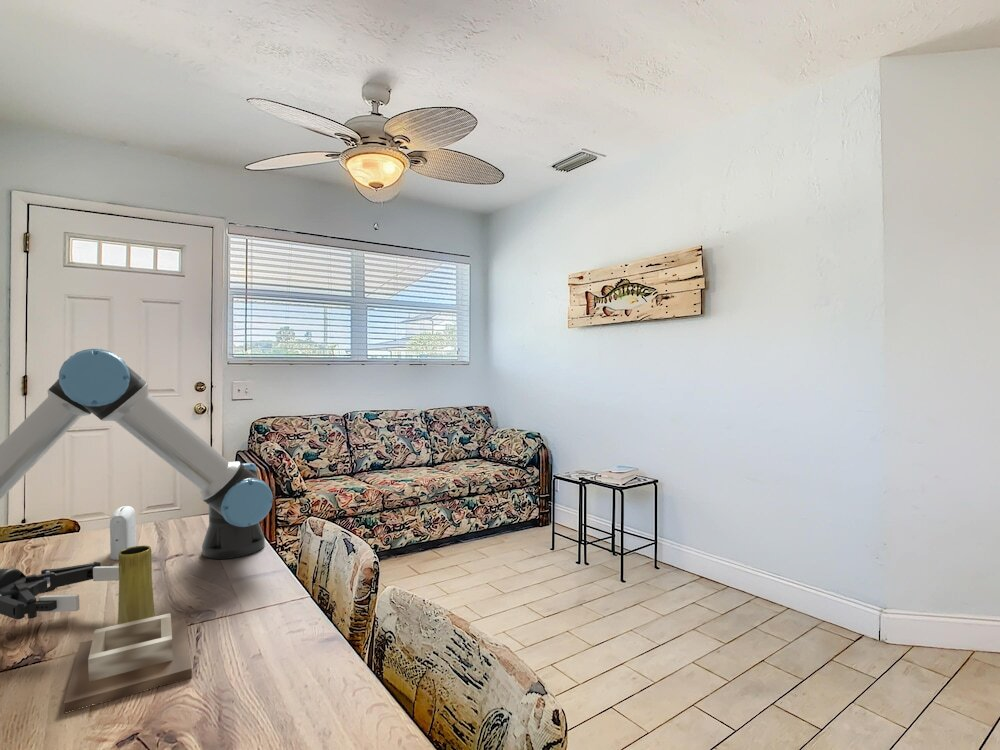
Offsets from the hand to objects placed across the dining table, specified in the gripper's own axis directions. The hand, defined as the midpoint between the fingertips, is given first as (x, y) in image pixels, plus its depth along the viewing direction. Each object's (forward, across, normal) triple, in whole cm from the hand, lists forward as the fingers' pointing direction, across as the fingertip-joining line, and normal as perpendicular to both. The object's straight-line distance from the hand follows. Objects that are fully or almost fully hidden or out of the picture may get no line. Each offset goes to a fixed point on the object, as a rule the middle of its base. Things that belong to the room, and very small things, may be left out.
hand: (104, 586), depth 103 cm
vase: (+6, 0, -8) cm, 9 cm away
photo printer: (-22, -40, -8) cm, 46 cm away
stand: (+14, +14, -7) cm, 21 cm away
